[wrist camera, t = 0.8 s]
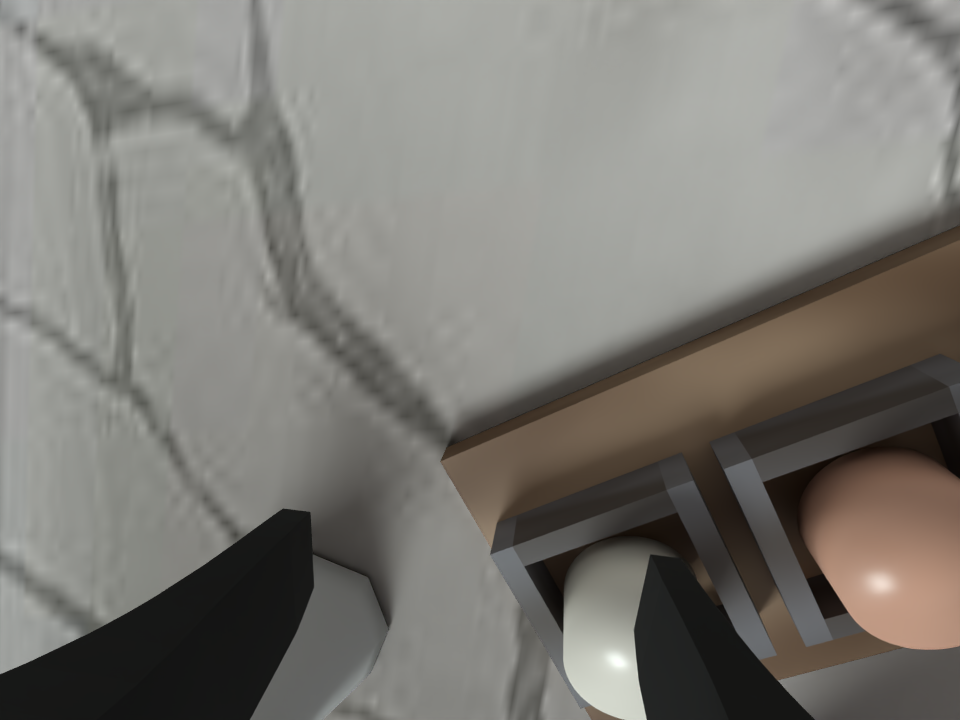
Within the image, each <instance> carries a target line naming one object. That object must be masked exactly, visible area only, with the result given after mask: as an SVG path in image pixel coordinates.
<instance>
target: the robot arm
mask: <svg viewBox="0 0 960 720" xmlns="http://www.w3.org/2000/svg"><path fill="white" fill-rule="evenodd" d="M313 589H314V571H313V553H312V534H311V515H310V512H306V511H298V510H290V509H282V510H281V511H279V512H278V513H276V514H275V515H273V516H272V517H270V518H269V519H268V520H266V521H265V522H264V523H262V524H261V525H259V526H258V527H257V528H255V529H254V530H253V531H251V532H250V533H248V534H247V535H246V536H244V537H243V538H242V539H240V540H239V541H237V542H236V543H235V544H233V545H232V546H230V547H229V548H228V549H226V550H225V551H223V552H222V553H220V554H219V555H218V556H216V557H215V558H213V559H212V560H211V561H209V562H208V563H206V564H205V565H203V566H202V567H200V568H199V569H197V570H196V571H194V572H193V573H191V574H190V575H188V576H186V577H185V578H183V579H182V580H180V581H179V582H177V583H176V584H174V585H172V586H171V587H169V588H168V589H166V590H165V591H163V592H162V593H160V594H159V595H157V596H155V597H154V598H152V599H150V600H149V601H147V602H145V603H144V604H142V605H140V606H139V607H137V608H135V609H133V610H132V611H130V612H128V613H126V614H124V615H123V616H121V617H119V618H117V619H115V620H113V621H112V622H110V623H108V624H106V625H104V626H102V627H101V628H99V629H97V630H95V631H93V632H91V633H89V634H87V635H85V636H83V637H81V638H79V639H76V640H74V641H72V642H70V643H68V644H66V645H64V646H62V647H60V648H58V649H56V650H53V651H51V652H49V653H47V654H45V655H43V656H41V657H39V658H37V659H35V660H33V661H30V662H28V663H26V664H23V665H21V666H19V667H16V668H14V669H12V670H9V671H7V672H5V673H2V674H0V720H250V719H251V717H252V715H253V713H254V711H255V710H256V708H257V706H258V704H259V702H260V700H261V698H262V697H263V695H264V693H265V691H266V689H267V687H268V685H269V684H270V682H271V680H272V678H273V676H274V674H275V672H276V671H277V669H278V667H279V665H280V663H281V661H282V659H283V657H284V656H285V654H286V652H287V650H288V648H289V646H290V644H291V642H292V640H293V638H294V636H295V635H296V633H297V630H298V628H299V625H300V623H301V620H302V618H303V615H304V613H305V610H306V608H307V605H308V602H309V600H310V597H311V594H312V592H313ZM634 639H635V650H636V661H637V670H638V680H639V685H640V690H641V695H642V700H643V704H644V709H645V714H646V719H647V720H815V719H814V718H813V717H812V716H811V715H810V714H809V713H808V712H807V711H806V710H805V709H804V708H803V707H802V706H801V705H800V704H799V703H798V702H797V701H796V700H795V699H794V698H793V697H792V696H791V695H790V694H789V693H788V692H787V691H786V690H785V688H784V687H783V686H782V685H781V684H780V683H779V682H778V681H777V679H776V678H775V677H774V676H773V675H772V674H771V673H770V672H769V670H768V669H767V668H766V667H765V666H764V665H763V664H762V662H761V661H760V660H759V659H758V658H757V657H756V655H755V654H754V653H753V652H752V651H751V649H750V648H749V647H748V646H747V644H746V643H745V642H744V641H743V639H742V638H741V637H740V636H739V634H738V633H737V632H736V631H735V629H734V628H733V627H732V626H731V624H730V623H729V622H728V621H727V619H726V618H725V617H724V615H723V614H722V613H721V612H720V610H719V609H718V608H717V606H716V605H715V604H714V602H713V601H712V600H711V598H710V597H709V596H708V594H707V593H706V592H705V590H704V589H703V588H702V586H701V585H700V583H699V582H698V581H697V579H696V578H695V577H694V575H693V574H692V573H691V571H690V570H689V569H688V567H687V566H686V565H685V563H684V562H683V561H682V559H681V558H676V557H668V556H660V555H652V554H650V557H649V562H648V566H647V571H646V576H645V580H644V585H643V589H642V594H641V599H640V603H639V608H638V612H637V617H636V622H635V626H634Z"/></svg>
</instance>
